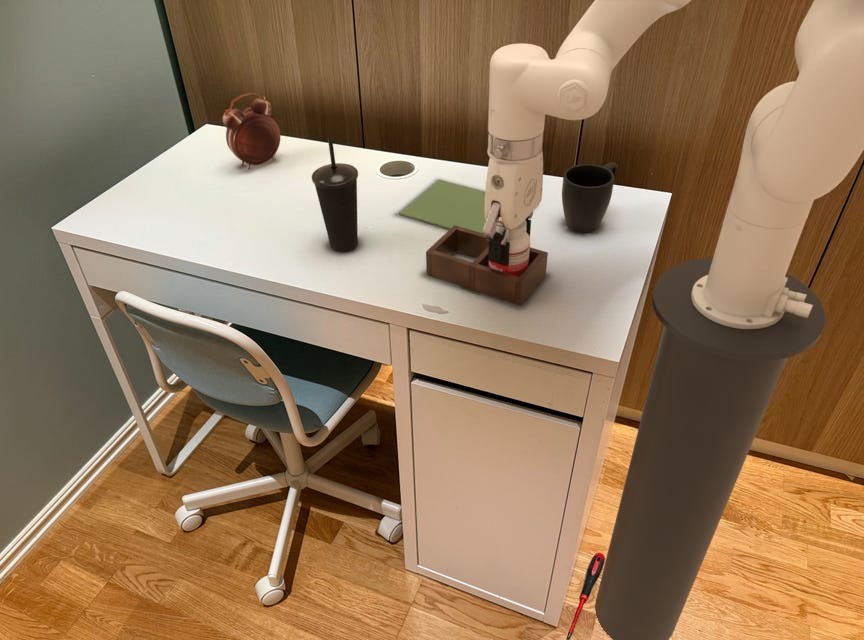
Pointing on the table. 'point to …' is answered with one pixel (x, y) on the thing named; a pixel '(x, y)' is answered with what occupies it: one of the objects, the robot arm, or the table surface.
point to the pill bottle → (515, 250)
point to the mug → (587, 195)
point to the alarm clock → (252, 131)
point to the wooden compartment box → (482, 266)
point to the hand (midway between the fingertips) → (509, 250)
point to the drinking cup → (338, 202)
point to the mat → (449, 206)
